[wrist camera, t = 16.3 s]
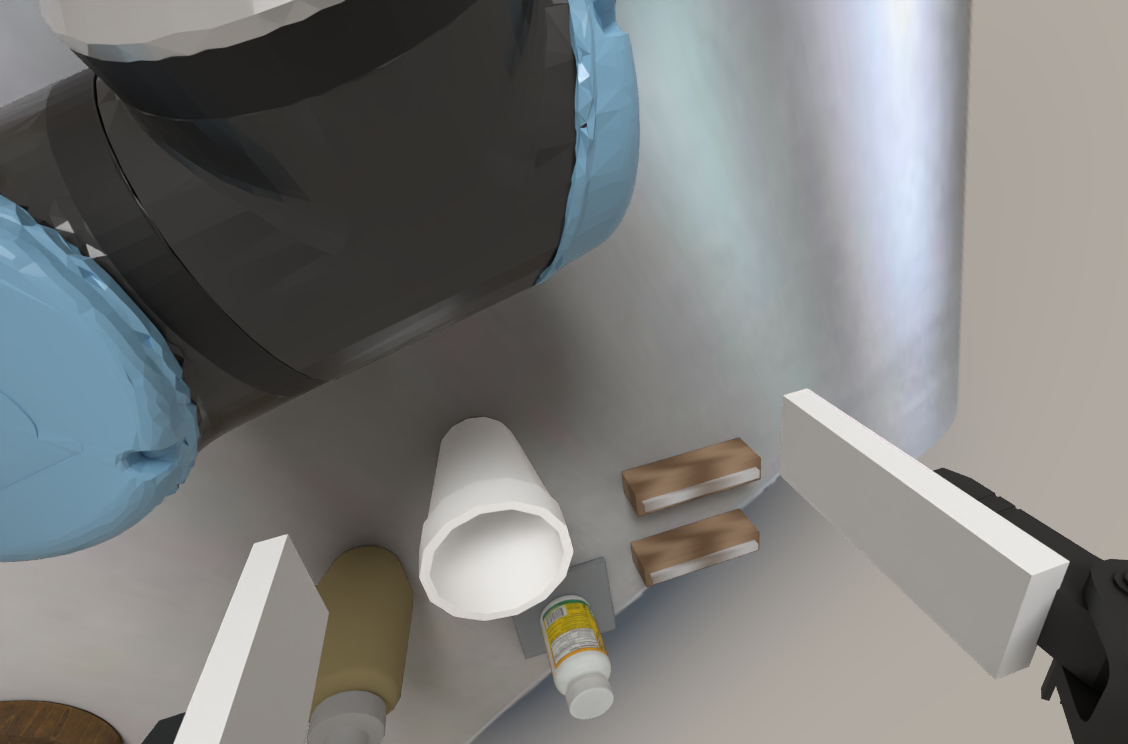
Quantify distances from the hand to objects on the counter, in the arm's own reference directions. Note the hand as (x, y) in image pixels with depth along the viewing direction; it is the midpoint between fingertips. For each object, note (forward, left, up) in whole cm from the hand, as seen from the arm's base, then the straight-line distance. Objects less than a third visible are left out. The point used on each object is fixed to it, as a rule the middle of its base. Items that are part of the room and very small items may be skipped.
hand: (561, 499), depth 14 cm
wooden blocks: (+15, -27, -27) cm, 41 cm away
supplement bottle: (+1, -36, -26) cm, 45 cm away
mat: (+1, -36, -27) cm, 45 cm away
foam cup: (-3, -15, -27) cm, 31 cm away
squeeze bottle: (-15, -24, -27) cm, 39 cm away
